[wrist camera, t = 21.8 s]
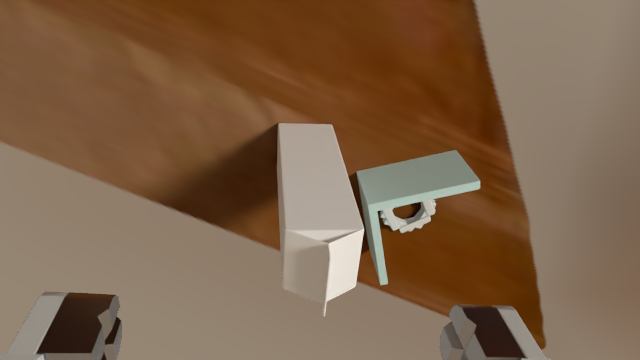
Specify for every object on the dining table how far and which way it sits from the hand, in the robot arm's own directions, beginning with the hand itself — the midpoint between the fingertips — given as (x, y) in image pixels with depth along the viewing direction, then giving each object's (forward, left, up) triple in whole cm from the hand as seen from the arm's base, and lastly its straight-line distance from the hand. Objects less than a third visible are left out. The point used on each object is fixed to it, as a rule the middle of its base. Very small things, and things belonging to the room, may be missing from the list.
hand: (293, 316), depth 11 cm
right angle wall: (+19, -20, -38) cm, 47 cm away
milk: (+5, -14, -37) cm, 40 cm away
